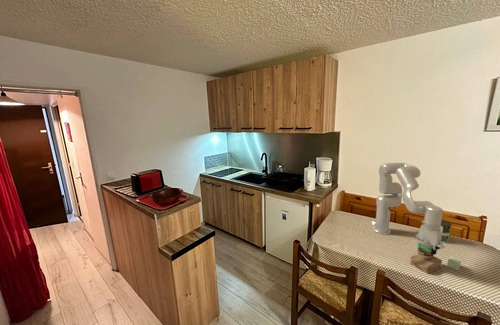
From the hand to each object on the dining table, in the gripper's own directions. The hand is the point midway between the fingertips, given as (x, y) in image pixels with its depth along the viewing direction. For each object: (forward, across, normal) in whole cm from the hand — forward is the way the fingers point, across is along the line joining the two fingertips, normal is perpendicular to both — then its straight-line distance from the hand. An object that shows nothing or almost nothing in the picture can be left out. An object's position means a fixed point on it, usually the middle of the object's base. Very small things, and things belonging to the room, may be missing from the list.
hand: (427, 251), depth 122 cm
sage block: (+10, +7, +15) cm, 20 cm away
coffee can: (+10, -14, +42) cm, 46 cm away
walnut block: (+10, 0, 0) cm, 10 cm away
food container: (+2, +1, 0) cm, 2 cm away
